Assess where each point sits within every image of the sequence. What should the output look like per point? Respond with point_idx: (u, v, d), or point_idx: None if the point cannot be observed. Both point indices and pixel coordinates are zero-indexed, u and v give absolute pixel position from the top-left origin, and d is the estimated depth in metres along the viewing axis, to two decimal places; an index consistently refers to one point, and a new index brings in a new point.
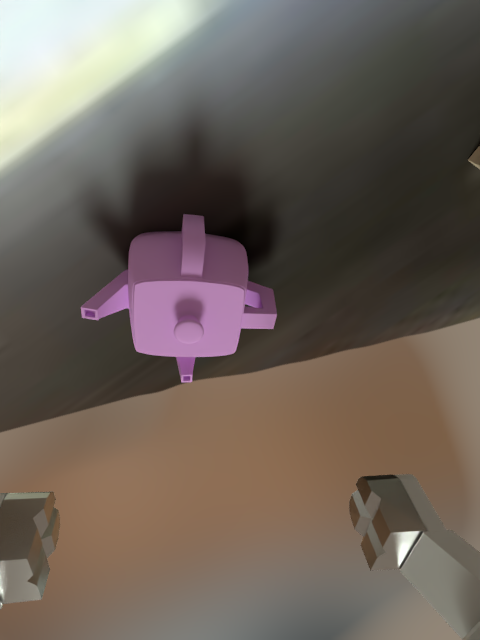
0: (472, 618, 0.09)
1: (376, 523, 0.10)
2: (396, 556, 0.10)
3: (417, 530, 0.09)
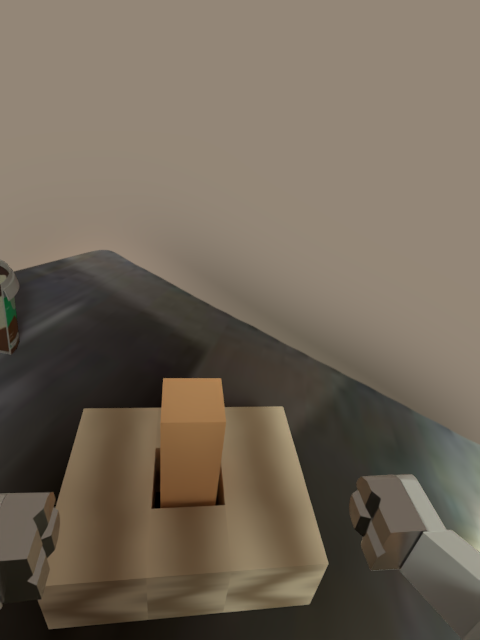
0: (473, 619, 0.09)
1: (377, 523, 0.10)
2: (396, 556, 0.10)
3: (417, 530, 0.09)
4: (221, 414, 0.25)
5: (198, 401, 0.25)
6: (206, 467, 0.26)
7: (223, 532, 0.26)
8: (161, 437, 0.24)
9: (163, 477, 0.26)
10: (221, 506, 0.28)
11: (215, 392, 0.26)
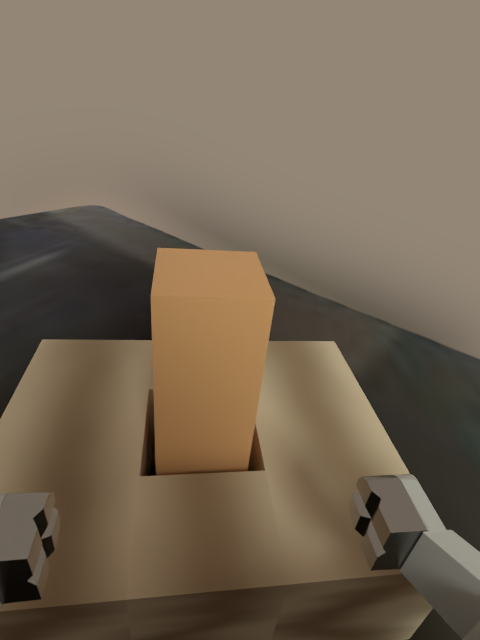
0: (473, 619, 0.09)
1: (376, 523, 0.10)
2: (396, 556, 0.10)
3: (417, 530, 0.09)
4: (265, 290, 0.13)
5: (220, 274, 0.14)
6: (234, 398, 0.15)
7: (266, 514, 0.15)
8: (153, 330, 0.13)
9: (158, 417, 0.15)
10: (259, 472, 0.16)
11: (249, 265, 0.15)
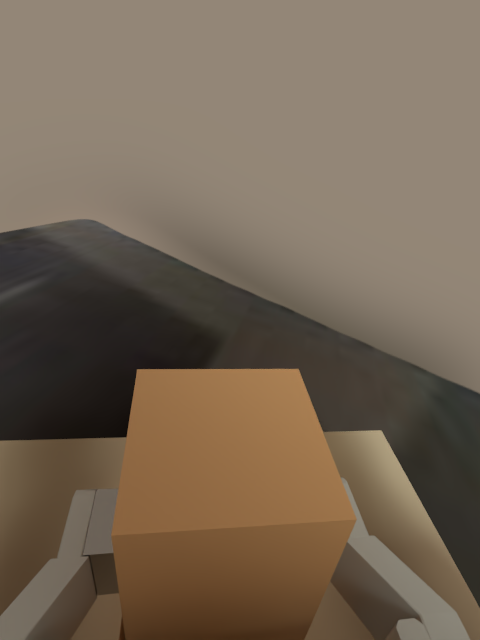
0: (390, 628, 0.08)
1: None
2: None
3: None
4: (332, 489, 0.07)
5: (246, 441, 0.08)
6: (266, 635, 0.09)
7: None
8: (121, 578, 0.07)
9: None
10: None
11: (292, 409, 0.09)
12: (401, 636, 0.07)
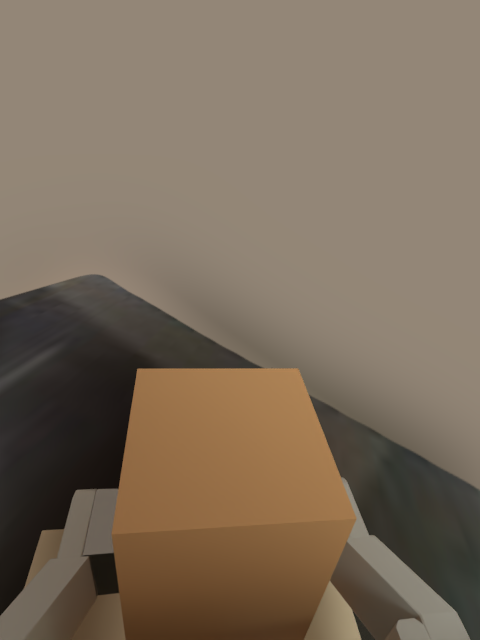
0: (391, 628, 0.08)
1: None
2: None
3: None
4: (332, 489, 0.07)
5: (246, 440, 0.08)
6: (266, 635, 0.09)
7: None
8: (121, 576, 0.07)
9: None
10: None
11: (292, 408, 0.09)
12: (401, 636, 0.07)
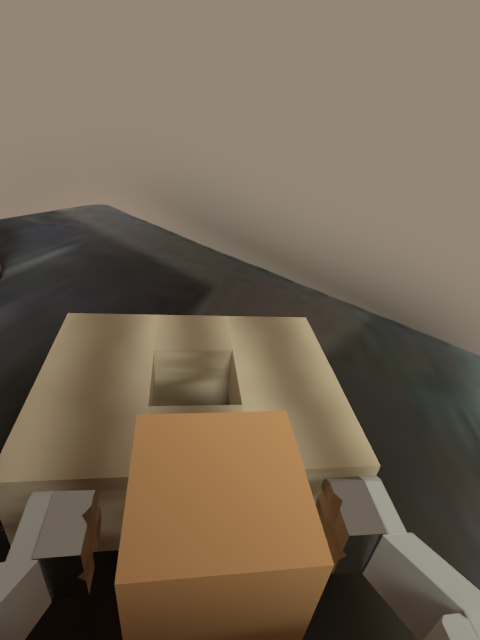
0: (431, 623, 0.09)
1: (337, 526, 0.10)
2: (358, 559, 0.10)
3: (377, 533, 0.09)
4: (313, 535, 0.08)
5: (236, 488, 0.09)
6: None
7: None
8: (123, 617, 0.07)
9: None
10: (237, 405, 0.22)
11: (280, 453, 0.09)
12: (447, 631, 0.07)
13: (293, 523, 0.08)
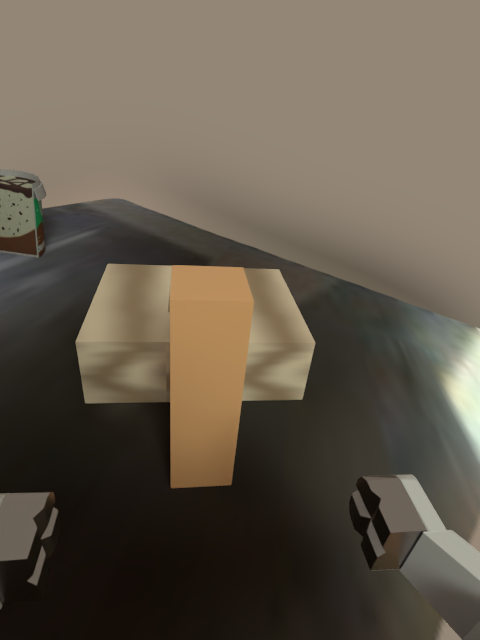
0: (473, 618, 0.09)
1: (376, 523, 0.10)
2: (396, 556, 0.10)
3: (417, 530, 0.09)
4: (247, 295, 0.19)
5: (217, 284, 0.20)
6: (227, 372, 0.21)
7: None
8: (171, 323, 0.19)
9: (173, 386, 0.21)
10: None
11: (237, 277, 0.21)
12: None
13: (239, 292, 0.19)
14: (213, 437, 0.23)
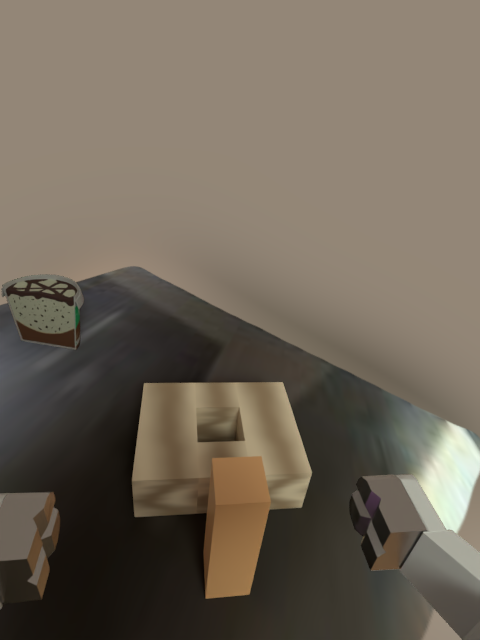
0: (473, 619, 0.09)
1: (376, 523, 0.10)
2: (396, 556, 0.10)
3: (417, 530, 0.09)
4: (266, 494, 0.28)
5: (245, 481, 0.29)
6: (250, 536, 0.30)
7: (244, 455, 0.41)
8: (215, 515, 0.28)
9: (213, 545, 0.30)
10: (242, 441, 0.43)
11: (258, 471, 0.30)
12: None
13: (261, 491, 0.29)
14: (238, 570, 0.33)
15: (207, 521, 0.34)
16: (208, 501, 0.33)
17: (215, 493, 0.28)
